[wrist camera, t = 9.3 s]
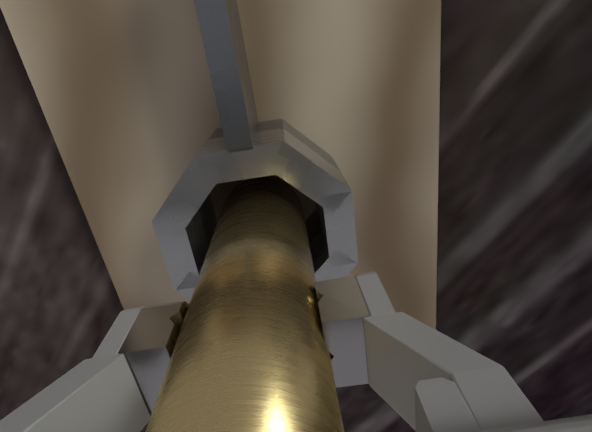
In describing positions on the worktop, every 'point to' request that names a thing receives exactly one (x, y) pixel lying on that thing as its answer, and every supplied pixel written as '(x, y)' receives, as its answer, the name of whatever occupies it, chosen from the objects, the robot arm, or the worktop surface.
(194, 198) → the grey metal ringed bar
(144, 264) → the birch board
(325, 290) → the robot arm
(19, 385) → the worktop surface
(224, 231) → the pin
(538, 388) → the worktop surface
